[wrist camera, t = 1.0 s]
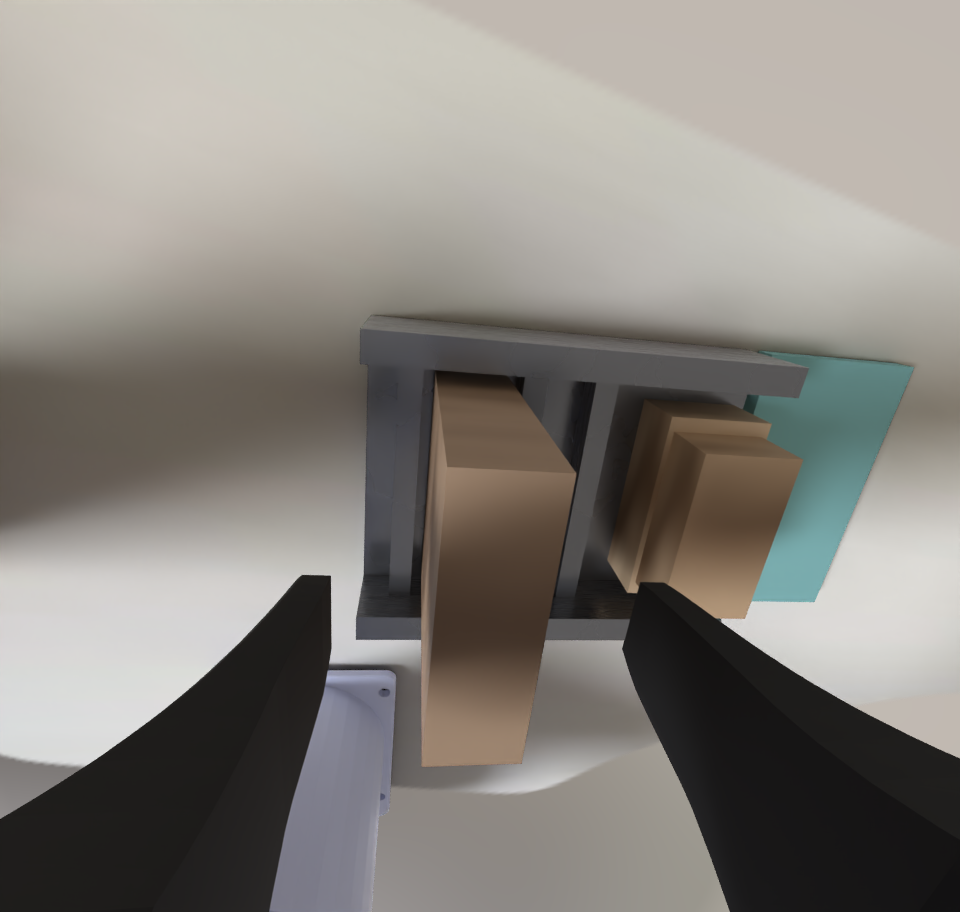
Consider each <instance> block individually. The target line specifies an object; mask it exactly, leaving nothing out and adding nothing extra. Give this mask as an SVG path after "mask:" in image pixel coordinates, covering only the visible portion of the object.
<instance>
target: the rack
mask: <svg viewBox="0 0 960 912" xmlns="http://www.w3.org/2000/svg"><path fill="white" fill-rule="evenodd" d="M360 364H365V365H368V390H367V440H366V490H365V539H364V577H363V582H362V588H361V594H360V599H359V605H358V611H357V616H356V640H421V561H422V547H423V533H424V518H425V504H426V490H427V475H428V461H429V447H430V432H431V418H432V404H433V389H434V375H435V370H442V371H454V372H467V373H480V374H493V375H506V376H508V377H509V379H510V380H511V382H512V383H513V384H514V386H515V387H516V389H517V390H518V391H519V393H520V394H521V396H522V397H523V399H524V400H525V401H526V403H527V404H528V406H529V407H530V408H531V410H532V411H533V413H534V414H535V416H536V417H537V418H538V420H539V421H540V423H541V424H542V425H543V427H544V428H545V430H546V431H547V433H548V434H549V435H550V437H551V438H552V440H553V441H554V442H555V444H556V445H557V447H558V448H559V450H560V451H561V452H562V454H563V455H564V457H565V458H566V459H567V461H568V462H569V464H570V465H571V467H572V468H573V469H574V471H575V472H576V479H575V484H574V489H573V494H572V500H571V505H570V510H569V516H568V521H567V526H566V531H565V537H564V542H563V547H562V552H561V558H560V563H559V568H558V573H557V579H556V584H555V589H554V595H553V600H552V605H551V610H550V616H549V621H548V626H547V631H546V637H545V640H625V637H626V633H627V629H628V625H629V622H630V618H631V614H632V610H633V607H634V603H635V599H636V595H637V593H627V591H626V590H625V588H624V586H623V585H622V583H621V582H620V580H619V578H618V577H617V575H616V573H615V572H614V570H613V568H612V567H611V565H610V563H609V562H608V560H607V559H608V555H609V551H610V546H611V542H612V538H613V533H614V529H615V525H616V520H617V516H618V512H619V507H620V503H621V499H622V494H623V490H624V486H625V481H626V477H627V473H628V468H629V464H630V460H631V455H632V451H633V447H634V442H635V438H636V434H637V429H638V425H639V421H640V416H641V412H642V408H643V403H644V399H655V400H668V401H682V402H695V403H709V404H722V405H734V406H736V407H738V408H741V409H743V407H744V404H745V401H746V397H747V394H749V395H762V396H775V397H788V398H799V396H800V393H801V390H802V387H803V385H804V382H805V379H806V376H807V373H808V370H809V368H808V367H804V366H801V365H797V364H794V363H791V362H787V361H784V360H781V359H777V358H774V357H770V356H767V355H764V354H760V353H757V352H754V351H750V350H747V349H736V348H725V347H714V346H703V345H692V344H681V343H671V342H660V341H649V340H638V339H627V338H616V337H605V336H594V335H583V334H573V333H562V332H551V331H540V330H529V329H518V328H507V327H496V326H485V325H475V324H464V323H453V322H442V321H431V320H420V319H409V318H398V317H387V316H377V315H371V316H370V317H369V318H368V320H367V321H366V322H365V323H364V325H363V326H362V327H361V328H360ZM716 619H717V620H719V621H720V622H721V619H720V618H716Z"/></svg>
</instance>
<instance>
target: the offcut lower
mask: <svg viewBox="0 0 960 912" xmlns="http://www.w3.org/2000/svg"><path fill="white" fill-rule="evenodd" d="M771 425H772V424H771V423H769V422H767V421H765V420H763V419H761V418H759V417H757V416H755V415H753V414H751V413H749V412H747V411H745V410H743V409H741V408H738V407H736V406H734V405H722V404H709V403H695V402H682V401H668V400H655V399H644V403H643V408H642V412H641V416H640V421H639V425H638V429H637V434H636V438H635V442H634V447H633V451H632V455H631V460H630V464H629V468H628V473H627V477H626V481H625V486H624V490H623V494H622V499H621V503H620V507H619V512H618V516H617V520H616V525H615V529H614V533H613V538H612V542H611V546H610V551H609V555H608V559H607V560H608V562H609V563H610V565H611V567H612V568H613V570H614V572H615V573H616V575H617V577H618V578H619V580H620V582H621V583H622V585H623V586H624V588H625V590H626V591H627V593H637V592H638V588H639V587H638V585H637V584H636V582H635V581H636V577H637V573H638V569H639V566H640V562H641V558H642V554H643V550H644V546H645V542H646V539H647V535H648V531H649V527H650V523H651V519H652V516H653V512H654V508H655V504H656V500H657V496H658V492H659V489H660V485H661V481H662V477H663V473H664V469H665V466H666V462H667V458H668V454H669V450H670V446H671V442H672V439H673V435H674V432H688V433H704V434H719V435H734V436H750V437H762V438H764V439H766V440H767V437H768V434H769V431H770V428H771Z"/></svg>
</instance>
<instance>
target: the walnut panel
mask: <svg viewBox="0 0 960 912" xmlns="http://www.w3.org/2000/svg"><path fill="white" fill-rule="evenodd" d="M575 479H576V472H575V471H574V469H573V468H572V467H571V465H570V464H569V462H568V461H567V459H566V458H565V457H564V455H563V454H562V452H561V451H560V450H559V448H558V447H557V445H556V444H555V442H554V441H553V440H552V438H551V437H550V435H549V434H548V433H547V431H546V430H545V428H544V427H543V425H542V424H541V423H540V421H539V420H538V418H537V417H536V416H535V414H534V413H533V411H532V410H531V408H530V407H529V406H528V404H527V403H526V401H525V400H524V399H523V397H522V396H521V394H520V393H519V391H518V390H517V389H516V387H515V386H514V384H513V383H512V382H511V380H510V379H509V377H508V376H506V375H493V374H480V373H467V372H454V371H442V370H435V375H434V389H433V404H432V418H431V432H430V447H429V461H428V475H427V490H426V504H425V518H424V533H423V547H422V561H421V734H422V767H433V766H463V765H493V764H521V763H522V758H523V753H524V747H525V742H526V737H527V731H528V726H529V721H530V716H531V710H532V705H533V700H534V695H535V689H536V684H537V679H538V674H539V668H540V663H541V658H542V652H543V647H544V642H545V637H546V631H547V626H548V621H549V616H550V610H551V605H552V600H553V595H554V589H555V584H556V579H557V573H558V568H559V563H560V558H561V552H562V547H563V542H564V537H565V531H566V526H567V521H568V516H569V510H570V505H571V500H572V494H573V489H574V484H575Z"/></svg>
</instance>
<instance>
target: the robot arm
mask: <svg viewBox="0 0 960 912" xmlns="http://www.w3.org/2000/svg"><path fill="white" fill-rule="evenodd" d="M622 650H623V653H624V656H625V659H626V662H627V666H628V669H629V672H630V675H631V678H632V680H633V683H634V686H635V689H636V691H637V693H638V696H639V698H640V700H641V702H642V704H643V706H644V708H645V710H646V713H647V715H648V717H649V719H650V721H651V723H652V725H653V727H654V729H655V731H656V733H657V735H658V737H659V739H660V741H661V744H662V746H663V748H664V750H665V752H666V754H667V755H668V758H669V760H670V762H671V764H672V766H673V768H674V770H675V772H676V774H677V776H678V778H679V780H680V782H681V784H682V787H683V789H684V791H685V793H686V796H687V798H688V800H689V802H690V804H691V807H692V809H693V812H694V814H695V817H696V820H697V822H698V825H699V828H700V830H701V833H702V836H703V838H704V841H705V844H706V846H707V849H708V851H709V854H710V857H711V859H712V862H713V865H714V868H715V870H716V874H717V876H718V879H719V882H720V885H721V888H722V891H723V893H724V896H725V899H726V902H727V905H728V908H729V910H730V912H960V758H958V757H955V756H953V755H951V754H948V753H946V752H944V751H942V750H939V749H937V748H935V747H933V746H931V745H929V744H927V743H924V742H922V741H920V740H918V739H916V738H914V737H912V736H910V735H907V734H906V733H904V732H902V731H900V730H898V729H895V728H894V727H892V726H890V725H888V724H886V723H884V722H882V721H880V720H878V719H876V718H874V717H872V716H870V715H868V714H866V713H864V712H862V711H860V710H858V709H857V708H855V707H853V706H851V705H849V704H847V703H846V702H844V701H842V700H840V699H839V698H837V697H835V696H833V695H832V694H830V693H828V692H827V691H825V690H823V689H821V688H820V687H818V686H816V685H814V684H813V683H811V682H809V681H808V680H806V679H804V678H803V677H801V676H800V675H798V674H796V673H795V672H793V671H792V670H790V669H789V668H787V667H785V666H784V665H782V664H781V663H779V662H778V661H776V660H775V659H773V658H772V657H770V656H769V655H767V654H766V653H764V652H763V651H761V650H760V649H758V648H757V647H755V646H754V645H752V644H751V643H750V642H748V641H747V640H745V639H744V638H742V637H741V636H740V635H738V634H737V633H735V632H734V631H733V630H731V629H730V628H728V627H727V626H726V625H724V624H723V623H721V622H720V621H719V620H717V619H716V618H714V617H713V616H712V615H710V614H709V613H708V612H706V611H705V610H703V609H702V608H701V607H699V606H698V605H697V604H695V603H694V602H692V601H691V600H690V599H688V598H687V597H685V596H684V595H683V594H681V593H680V592H678V591H677V590H675V589H674V588H672V587H671V586H669V585H667V584H666V583H664V582H640V584H639V588H638V592H637V595H636V599H635V603H634V607H633V610H632V614H631V618H630V622H629V625H628V629H627V633H626V637H625V640H624V644H623V648H622ZM330 655H331V576H324V575H302V576H300V577H299V578H298V579H297V580H296V581H295V582H294V583H293V585H292V586H291V587H290V588H289V589H288V591H287V592H286V593H285V594H284V595H283V596H282V598H281V599H280V600H279V601H278V602H277V603H276V604H275V606H274V607H273V608H272V609H271V610H270V611H269V612H268V613H267V614H266V616H265V617H264V618H263V619H262V620H261V621H260V622H259V623H258V624H257V625H256V626H255V627H254V628H253V629H252V630H251V631H250V632H249V633H248V634H247V636H246V637H245V638H244V639H243V640H242V641H241V642H240V643H239V644H238V645H237V646H236V647H235V648H234V649H232V650H231V651H230V652H229V653H228V654H227V655H226V656H225V657H224V658H223V659H222V660H221V661H220V662H219V663H218V664H217V665H216V666H215V667H213V668H212V669H211V670H210V671H209V672H208V673H207V674H206V675H205V676H204V677H203V678H201V679H200V680H199V681H198V682H197V683H196V684H195V685H193V686H192V687H191V688H190V689H189V690H188V691H186V692H185V693H184V694H183V695H182V696H180V697H179V698H178V699H177V700H175V701H174V702H173V703H172V704H171V705H169V706H168V707H167V708H166V709H164V710H163V711H162V712H161V713H159V714H158V715H157V716H155V717H154V718H153V719H151V720H150V721H149V722H147V723H146V724H145V725H143V726H142V727H141V728H139V729H138V730H137V731H135V732H134V733H132V734H131V735H130V736H128V737H127V738H126V739H124V740H123V741H121V742H120V743H119V744H117V745H116V746H114V747H113V748H112V749H110V750H109V751H107V752H106V753H105V754H103V755H102V756H100V757H99V758H97V759H96V760H94V761H93V762H91V763H90V764H88V765H87V766H85V767H84V768H82V769H81V770H79V771H78V772H76V773H74V774H73V775H71V776H70V777H68V778H67V779H65V780H64V781H62V782H60V783H59V784H57V785H56V786H54V787H52V788H51V789H49V790H48V791H46V792H44V793H43V794H41V795H40V796H38V797H36V798H35V799H33V800H32V801H30V802H28V803H26V804H25V805H23V806H21V807H20V808H18V809H17V810H15V811H13V812H11V813H10V814H8V815H6V816H5V817H3V818H1V819H0V912H372V900H373V886H374V874H375V860H376V847H377V834H378V819H379V816H381V815H384V814H386V813H387V812H388V811H389V806H390V787H391V769H392V750H393V731H394V712H395V694H396V675H395V674H394V673H393V672H392V671H389V670H328V666H329V660H330ZM384 688H385V689H388V690H382V689H384Z"/></svg>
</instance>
